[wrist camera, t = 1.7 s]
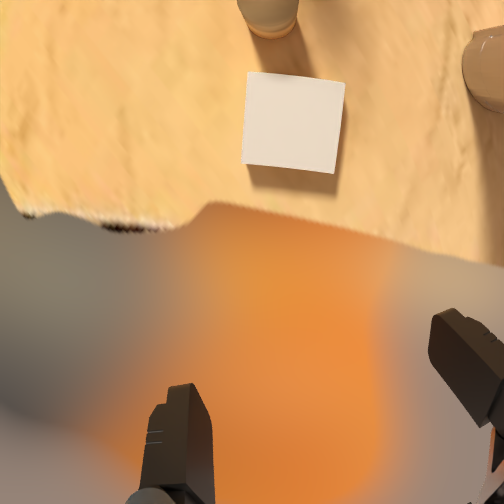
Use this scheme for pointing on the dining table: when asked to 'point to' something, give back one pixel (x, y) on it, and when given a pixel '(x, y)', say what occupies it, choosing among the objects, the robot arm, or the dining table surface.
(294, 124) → the white base
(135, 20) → the dining table surface
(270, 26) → the ochre cylinder
